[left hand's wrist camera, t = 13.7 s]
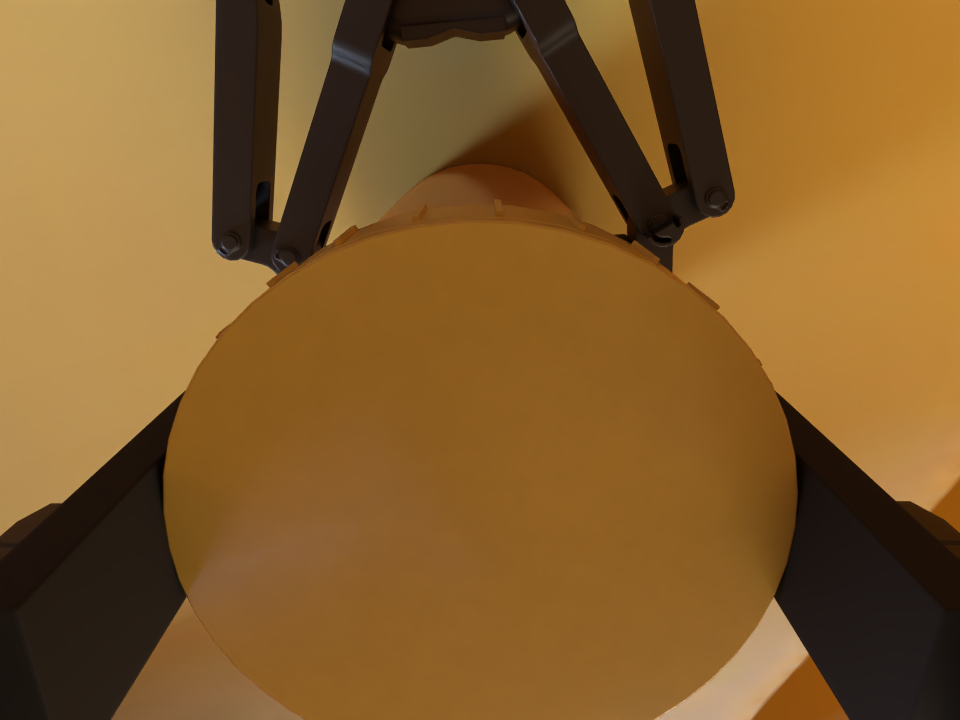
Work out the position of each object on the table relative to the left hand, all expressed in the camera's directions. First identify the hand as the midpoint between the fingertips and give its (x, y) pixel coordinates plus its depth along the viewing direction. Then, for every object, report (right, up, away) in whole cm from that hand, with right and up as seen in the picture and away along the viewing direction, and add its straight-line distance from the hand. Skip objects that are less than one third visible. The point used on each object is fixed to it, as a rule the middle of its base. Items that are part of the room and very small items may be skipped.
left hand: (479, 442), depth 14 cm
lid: (0, -1, -3) cm, 3 cm away
